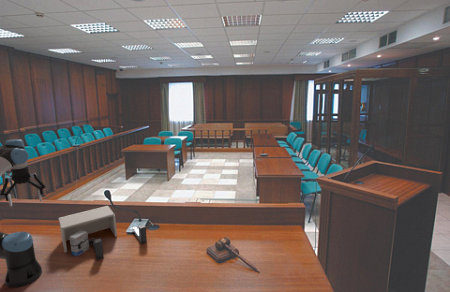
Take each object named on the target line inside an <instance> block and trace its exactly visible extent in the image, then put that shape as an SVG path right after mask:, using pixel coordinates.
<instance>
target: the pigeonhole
mask: <svg viewBox="0 0 450 292" xmlns="http://www.w3.org/2000/svg"><path fill="white" fill-rule="evenodd" d="M58 222H59V229H60V235H61V242H62V246H63V251H64V253H68V247H67V241H68V240H69V241H70V236H72V235H73V234H75V233H77V232H79V231H81V230H83V231H87V234H88V235H90V234H93V233H96V232H99V231H103V230H105V229H110V231H111V232H112V234H113V235H114V237H115V238H116V237H118V232H117V231H118V230H117V229H118V228H117V219H116V215H115V213H114V212H113V210H112V208H110V206H109V205H105V206H101V207H97V208H92V209H88V210H86V211H85V210H84V211H81V212H76V213H72V214H69V215H65V216H61V217H58Z"/></svg>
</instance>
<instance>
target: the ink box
mask: <svg viewBox="0 0 450 292" xmlns="http://www.w3.org/2000/svg"><path fill="white" fill-rule="evenodd" d="M88 235H89V234H87V231H83V230H81V231H79V232H77V233H75V234H73V235H72V236H70V239H69V243H70V251H71V255H72V256H74V257H79V256H81V255H82V254H83V253H85V252H86V251H88V250H90V245H89V242H88V240H89V237H88Z"/></svg>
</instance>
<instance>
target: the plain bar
mask: <svg viewBox="0 0 450 292" xmlns="http://www.w3.org/2000/svg"><path fill="white" fill-rule="evenodd" d="M137 227H138V228H137ZM132 229H133V230H134V232H135V234H134V235H135V237H136V238H137V239H138V241H139V243H140V244H141V245H144V244H146V243H148V240H147V239H148V238H147V228H146V225H145V224H141V225H138V226H133V227H131V230H132Z"/></svg>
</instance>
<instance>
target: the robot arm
mask: <svg viewBox="0 0 450 292" xmlns="http://www.w3.org/2000/svg"><path fill="white" fill-rule="evenodd" d="M29 155H30V154H29V153H28V151H27V150H26V149H25V144H24V141H23V140H22V139H20V138H19V139H18V138H17V139H15V138H14V139H7V140H6V141H5V145H0V177H2V176H3V175H4V174H5V173H7V172H8V171H9V170H10V172H11V176H10V177H9V176H6V177H5V178H4V184H3V187H2V189H1V191H0V196H4V197H5V202H8V204H9V207H10V208H11V207H13V200H12V195H11V192H12V190H13V189H14V187H15V186H16V185H22V184H26V183H28V184H30V185H32V186H33V187H34V188H36V189H37V193H38V199H39V202H42V201H43V200H42V195H43V194H44V189H45V188H46V187H47V185H46V184H45V183H44V182H43V181H42V180H41V179H40V177H38V175H37V173H36V172H34V173H30V170H29V166H28V161H29ZM31 178H33V179H34V180H35V181H36V182H37V183H36V182H35V181H34V180H32V179H31ZM10 181H12V182H13V183H12V184H11V186H10V187H9V188H8V190H7V187H8V184H9V182H10ZM34 247H35V246H34V239H33V237H32V234H31V233H30V232H27V231H19V232H18V231H16V232H13V233H10V234H9V233H6V232H2V231H0V260H5V264H6V273H5V278H4V284H5V287H7V288H12V289H13V288H14V289H15V288H20V287H23V286H27V285H28V284H30V283H32V282H35V280H37V279H39V277H40V276H41V275H42V273H43V268H42V266H41V264H40V263H39V261H38V260H37V258H36V252H35V248H34Z"/></svg>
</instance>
